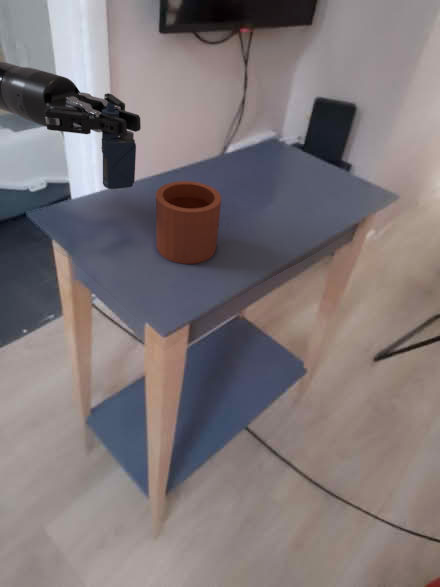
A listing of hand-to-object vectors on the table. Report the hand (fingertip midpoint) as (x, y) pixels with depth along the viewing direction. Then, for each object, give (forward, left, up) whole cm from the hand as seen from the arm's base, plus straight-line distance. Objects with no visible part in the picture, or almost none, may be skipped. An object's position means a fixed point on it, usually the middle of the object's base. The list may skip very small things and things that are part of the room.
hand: (131, 126), depth 55 cm
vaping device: (0, +4, -10) cm, 11 cm away
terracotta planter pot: (+6, -6, -21) cm, 23 cm away
